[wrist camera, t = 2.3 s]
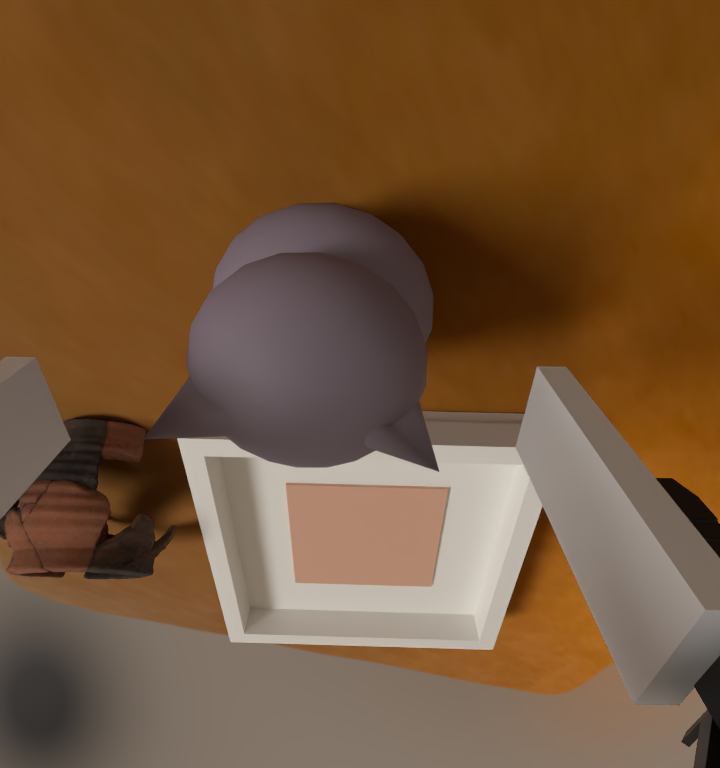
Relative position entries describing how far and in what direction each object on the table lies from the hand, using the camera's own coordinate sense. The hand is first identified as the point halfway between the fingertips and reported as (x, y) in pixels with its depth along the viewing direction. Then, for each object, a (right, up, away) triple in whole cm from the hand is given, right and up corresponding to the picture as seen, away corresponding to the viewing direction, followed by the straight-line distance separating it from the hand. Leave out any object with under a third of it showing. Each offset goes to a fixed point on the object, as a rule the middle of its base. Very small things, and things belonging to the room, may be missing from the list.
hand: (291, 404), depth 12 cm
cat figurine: (+1, +6, +9) cm, 11 cm away
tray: (+2, -9, +19) cm, 21 cm away
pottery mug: (-15, -5, +16) cm, 23 cm away
